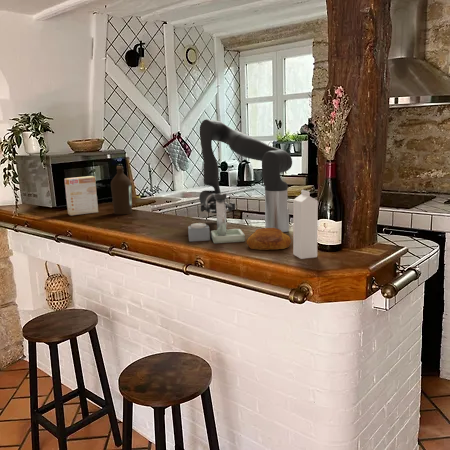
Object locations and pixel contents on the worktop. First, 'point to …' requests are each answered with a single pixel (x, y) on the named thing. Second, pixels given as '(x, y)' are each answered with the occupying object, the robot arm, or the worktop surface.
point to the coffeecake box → (81, 195)
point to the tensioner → (198, 232)
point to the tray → (228, 236)
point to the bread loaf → (268, 239)
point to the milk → (305, 226)
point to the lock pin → (221, 214)
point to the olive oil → (121, 193)
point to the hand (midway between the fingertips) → (219, 209)
